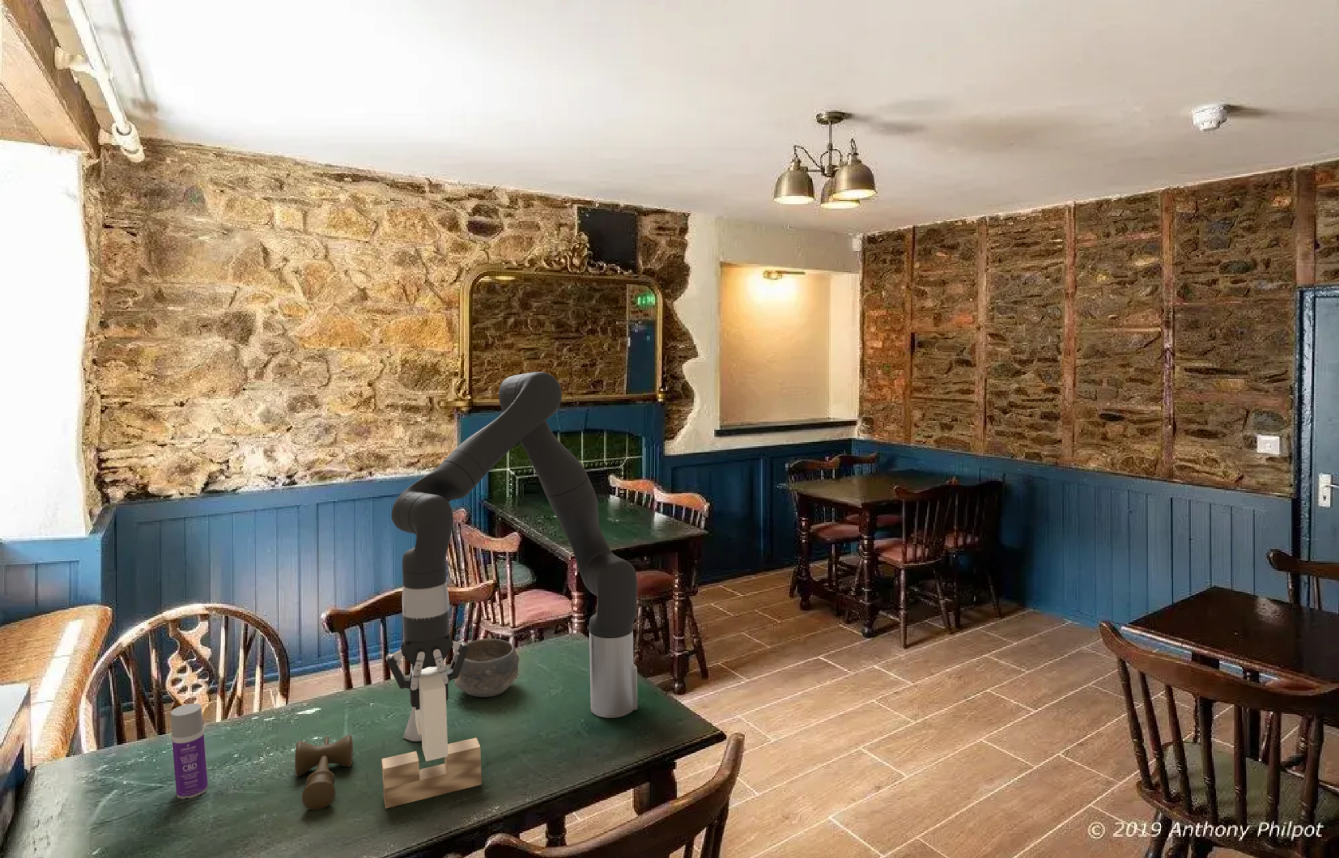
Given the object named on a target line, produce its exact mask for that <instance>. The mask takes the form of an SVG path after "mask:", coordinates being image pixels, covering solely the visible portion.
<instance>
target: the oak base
mask: <svg viewBox="0 0 1339 858" xmlns="http://www.w3.org/2000/svg"><path fill="white" fill-rule="evenodd" d="M481 752H482V751H481V745H480V742H479V740H478V738H477V737H474V738H469V739H464V740H460V741H456V742H451V743H448V757H444V763H442V764H437V765H434V766H429V767H424V768H421V769H420V761H419V756H418V752H417V750H416V751H411V752H407V753H401V754H397V755H394V756H393V755H392V756H389V757H384V758H381V771H382V791H383V793H382V794H383V801H384V809H389V808H394V807H397V806H400V805H401V806H402V805H405V804H408V803H409V804H410V803H413V802H417V801H421V800H425V799H430V798H433V797H437V796H441V795H444V794H449V793H452V792H456V791H457V792H458V791H461V790H465V789H470V788H473V787H477V786H481V785H482V763H481V762H482V755H481Z"/></svg>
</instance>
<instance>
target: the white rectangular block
mask: <svg viewBox="0 0 1339 858" xmlns="http://www.w3.org/2000/svg"><path fill="white" fill-rule="evenodd" d="M418 688H419V699H420V710H416V709H415V723H416V727H417V731H418V734H419V735H422V741H421V745H422V746H421V749H422V753H423V755H424V758H425V762H431V761H434V760H438V759H442V758H445V757H448V744H449V743H448V722H447V721H448V719H447V716H448V715H447V701H446V687H445V685H444V682H443V680H442V677H441V674H439V673H438V670H437V668H436V667H427V668H425V669H422V671H421V676H420V677H419V683H418Z"/></svg>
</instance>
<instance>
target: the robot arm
mask: <svg viewBox="0 0 1339 858" xmlns="http://www.w3.org/2000/svg"><path fill="white" fill-rule="evenodd" d="M562 393H563V392H562V388H561V384H560V382H559V381H558V380H557V379H556V377H555V376H553V375H552V374H550V373H547V372H544V371H532V372H527V373H520V374H515V375H511V376H508V377H507V378H505V379H504V380H503V381H502V382H501V384H500V386H499V390H498V402H499V405H500V409H501V410H502V413H501V414H500V415H499V416H498V417H497V418H495V419H493V420H492V421H491V422H490V423H488V424H487V425H486V426H483V427H482V428H481V429H479V430H478V431H476V432H475V433H474V434H472V435H470V436H469V437H467V438H466V439H465V440H464V441H463V442H461V443H460V444H459V445H458V446H457V447H456V448H455V449H454V450H453V451H452V452H451V453H449V455H448V456H447V457H446V458H445V459H444V460H443V461H442V462H441V463H440V464H439V466H437V467H436V468H435V469H434V470H433V471H430V472H429V473H427V474H426V475H424V476H422V477H421V478H420V479H418V480H417V481H416V482H414V483H413V484H410V486H408V487H407V488H406V489H405V490H404V491H402V492H401V493H400V495H398V497H397V498H396V499H395V502H394V503H393V505H392V508H391V520H392V523H393V525H394V526H395V527H396V528H397V529H398V530H400V531H402V532H405V533H408V534H413V535H416V536H415V537H416V538H415V539H416V540H415V545H414V547H412V548H410V549H409V548H408V550H406V551H405V552H404V553H403V556H402V562H401V566H402V567H401V569H402V570H401V571H402V572H401V573H402V594H401V606H402V608H401V611H402V629H403V630H402V633H403V634H402V635H403V643H402V645H401V647H400V649H399V650H397V651H395V652H393V653H392V652H387V654H386V655H385V660H386V664H387V666H388V668H389V669H390V671H391V674H392V676H393V677H394V679H395V682H396V684H397V685H398V687H399V689H402V690H403V689H408V690H409V701H410V705H411V708H412V707H415V709H416V710H420V699H419V688H418V683H419V677H420V676H421V671H422V669H425V668H427V667H436V668H437V670H438V673H439V674H441V677H442V680H443V682H444V685H445V687H446V702H447V701H449V696H450V695H449V682H451V681H453V680H454V679H456V678H458V677H459V674H460V671H461V668H462V665H463V663H464V660H465V657H466V654H467V651H468V646H467V645H466V641H465V640H461V641H455V640H453V638H452V637H451V631H450V600H449V598H450V597H449V588H448V583H447V562H446V557H447V553H448V550H449V545H450V541H451V538H452V537H451V536H452V532H453V525H454V513H453V509H452V506H451V504H450V503H449V502H450V501H455V500H460V499H464V498H465V497H467V495H469V494H470V493H471V492H472V490H474V489H475V487H476V486H477V485H478V484H479V483H480V482H481V480H483V479H484V477H485V476H486V475H487V474H488V473H489V472H490V471H491V470H492V469H493V467H494V466H496V464H497V463H499V461H501V459H502V458H503V457H504V456H505V455H507V454H508V452H510V451H511V450H512V449H513V448H514V447H515V446H516V445H517V444H518V443H521V445H522V447H523V449H524V450H525V453H526V454H527V457H528V459H529V462H530V463H531V465H532V467H533V469H534V472H535V473H536V476H537V477H538V480H539V482H540V484H541V486H542V490H543V491H544V494H545V497H546V498H547V501H548V502H549V505H550V507H551V510H552V511H553V513H554V514H555V515H554V516H556V519H557V521H558V523H559V524H560V527H561V530H562V532H563V533H564V535H565V537H566V539H567V541H568V543H569V544H570V547H571V549H572V553H573V555H574V556H573V557H574V558H575V560H576V565H577V567H578V570H579V574H580V577H581V579H582V582H583V585H584V586H585V588H586V589H587V590H588V591H589V592H590V593H591V594H593V595H594V596H596V597H597V606H596V607H597V608H596V609H597V610H596V613H594V614H593V615H592V616H590V618H589V624H588V628H589V629H588V630H589V631H588V634H589V635H588V636H589V639H588V640H589V683H590V684H589V685H590V686H589V687H590V688H589V689H590V691H589V692H590V693H589V694H590V711H591V713H593V714H594V715H595V716H596V717H600V718H603V719H604V718H606V719H611V718H612V719H615V718H620V717H624V716H627V715H629V714H631V713H632V712H634V711H635V710H638V667H637V665H636V664H635V663H634V631H633V630H634V621H635V619H636V616H637V608H638V606H637V605H638V577H637V572H636V569H635V567H634V566H633V565H632V563H631V562H629V561H627V560H625V559H624V558H621V557H619V556H617V555H615V554H614V553H613V551H612V550H611V548H610V547H609V544H608V542H607V541H606V539H605V537H604V535H603V532H602V529H601V528H600V522H599V521H600V520H599V505H598V504H599V503H598V498H597V495H596V492H595V488H594V487H593V485H592V482H591V480H590V478H589V475H588V473H587V471H586V469H585V468H584V466H583V465H582V464H581V462H580V461H579V460H578V458H576V457H575V455H574V454H573V453H572V452H570V450H569V449H567V448H566V447H565V446H564V445H563V444H562V443H561V442H560V440H558V438H557V437H556V436H555V435H554V433H553V431H552V430H551V427H550V426H549V424H548V422H547V420H548V419H550V418H551V417H552V416H553V415H554V414H555V413H556V412H557V410H559V407H560V406H561V403H562V396H563V394H562ZM451 650H452V651H453V652H452V653H453V654H454V657H453V659H452V660H453V662H452V661H451V662H452V665H451V664H450V669H448V670H447V669H446V665H445V663H444V660H445V659H446V658H447V656H448V654H449V653H450V651H451ZM402 658H405V659H406V660H407V661H408V662H409V663H410V664H411V665H410V674H409V677H406V676H405V675H404V674H403V672H402V669H401V667H400V665H401V664H402ZM446 670H447V671H446Z"/></svg>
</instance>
